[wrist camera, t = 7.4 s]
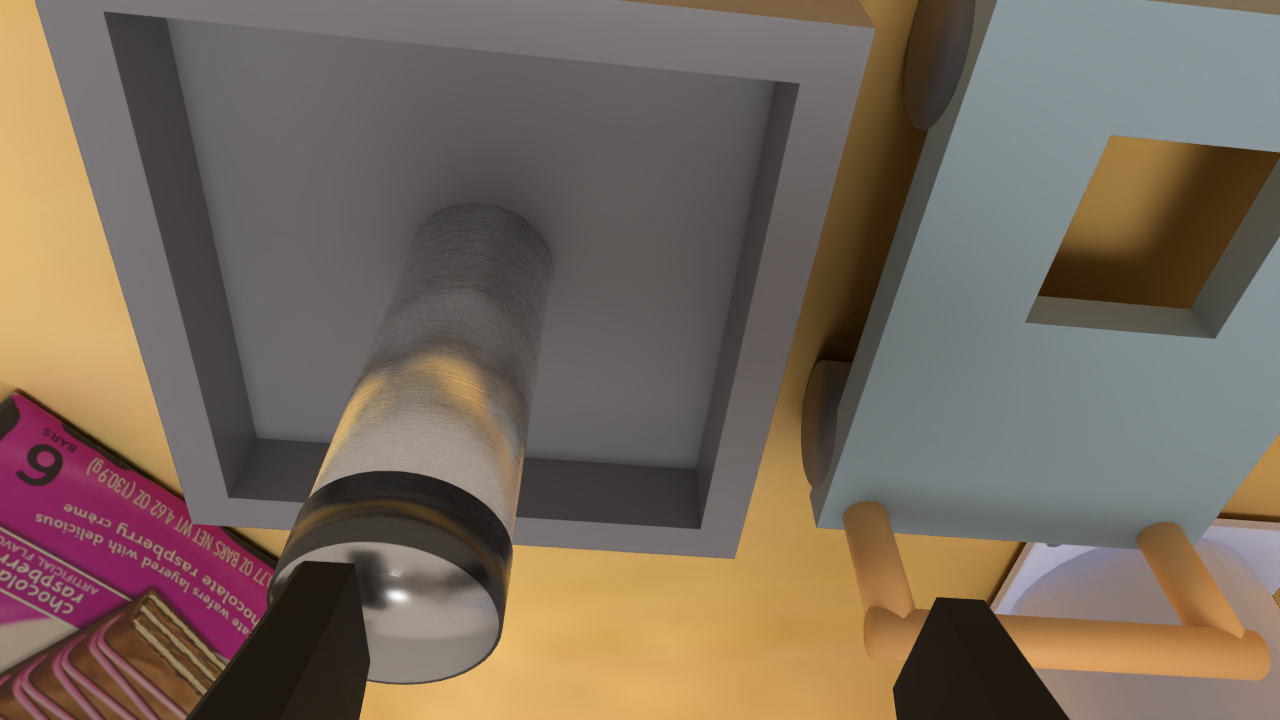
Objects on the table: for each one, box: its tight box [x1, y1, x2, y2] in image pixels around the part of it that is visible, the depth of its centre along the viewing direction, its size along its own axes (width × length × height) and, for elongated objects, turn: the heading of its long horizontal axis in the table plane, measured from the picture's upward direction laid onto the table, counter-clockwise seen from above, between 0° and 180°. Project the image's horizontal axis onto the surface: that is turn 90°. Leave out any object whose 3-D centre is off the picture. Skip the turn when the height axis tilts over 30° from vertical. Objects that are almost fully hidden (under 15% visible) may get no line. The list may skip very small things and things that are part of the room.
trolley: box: [801, 0, 1280, 681], centre depth 17 cm, size 14×9×7 cm
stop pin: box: [266, 203, 552, 685], centre depth 16 cm, size 3×3×9 cm
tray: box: [35, 0, 876, 559], centre depth 19 cm, size 13×13×3 cm
